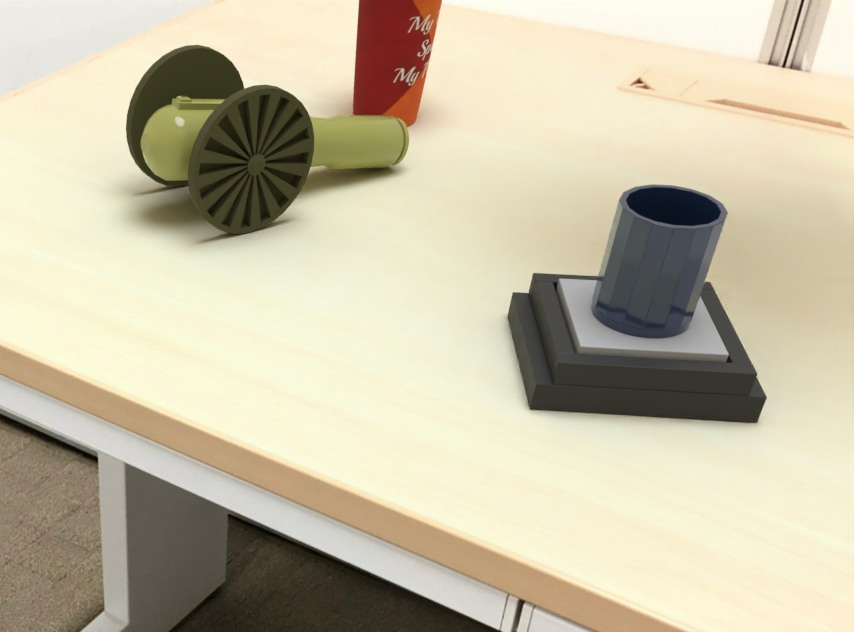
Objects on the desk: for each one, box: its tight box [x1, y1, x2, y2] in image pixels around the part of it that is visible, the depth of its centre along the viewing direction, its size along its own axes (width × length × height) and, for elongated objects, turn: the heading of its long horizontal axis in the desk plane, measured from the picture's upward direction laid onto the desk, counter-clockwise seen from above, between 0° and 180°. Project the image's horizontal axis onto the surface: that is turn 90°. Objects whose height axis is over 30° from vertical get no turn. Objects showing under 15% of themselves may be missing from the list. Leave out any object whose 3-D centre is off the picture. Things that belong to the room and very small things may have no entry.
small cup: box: [591, 184, 729, 338], centre depth 78 cm, size 6×6×8 cm
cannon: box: [125, 44, 410, 235], centre depth 101 cm, size 25×12×11 cm, turn 117°
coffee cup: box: [352, 0, 443, 127], centre depth 112 cm, size 8×8×15 cm
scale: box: [507, 272, 768, 423], centre depth 82 cm, size 14×12×4 cm
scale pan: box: [556, 279, 729, 362], centre depth 81 cm, size 9×9×2 cm
